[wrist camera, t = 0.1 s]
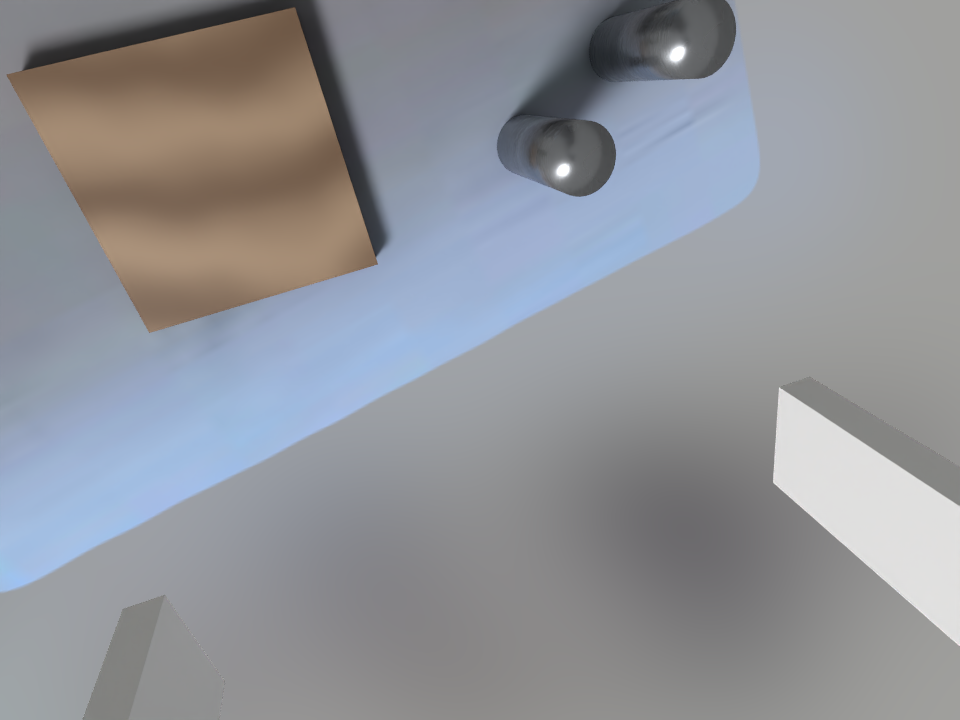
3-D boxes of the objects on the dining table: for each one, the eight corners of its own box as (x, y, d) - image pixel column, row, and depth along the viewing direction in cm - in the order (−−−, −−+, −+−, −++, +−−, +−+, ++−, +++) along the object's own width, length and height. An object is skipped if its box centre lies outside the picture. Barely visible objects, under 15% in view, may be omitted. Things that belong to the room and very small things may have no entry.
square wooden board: (20, 75, 29) (6, 74, 27) (295, 11, 30) (295, 7, 29) (155, 323, 35) (149, 332, 34) (375, 258, 37) (377, 264, 36)
